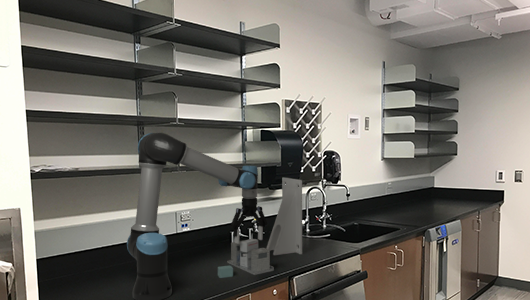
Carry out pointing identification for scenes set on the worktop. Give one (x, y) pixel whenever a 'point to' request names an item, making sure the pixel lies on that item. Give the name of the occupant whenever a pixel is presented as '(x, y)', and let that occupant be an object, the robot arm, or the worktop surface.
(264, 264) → the box holder
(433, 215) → the worktop surface
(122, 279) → the worktop surface
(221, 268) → the block
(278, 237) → the grey mounting bracket
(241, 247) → the ink box
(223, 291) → the worktop surface
